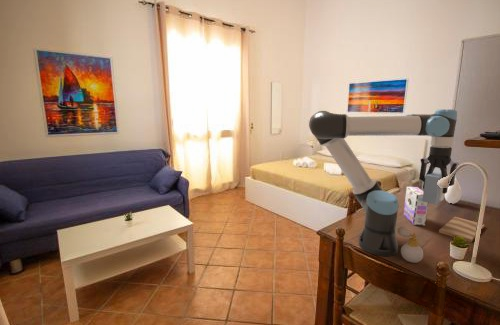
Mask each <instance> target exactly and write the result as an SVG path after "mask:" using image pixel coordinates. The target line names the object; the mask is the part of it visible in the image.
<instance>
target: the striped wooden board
mask: <svg viewBox="0 0 500 325" xmlns="http://www.w3.org/2000/svg"><path fill="white" fill-rule="evenodd" d="M477 223H478V222H476V221H473V220H469V219H466V218H461V217H458V216H454V217H452V218H451V219H450V220H449V221H448V222H447V223H446V224H444V225H443V226H442V227H441V228H440V229H438V233H439V234H442V235H446V236H449V237H452V238H455V236H461V237H464V238H465V239H466V241H465V242H469V243H472V242H473V241H474V239H475V238H476V237H475V234H476V228H477ZM482 224H483V225H482V230H483V229H484V228H485V224H484V223H482Z"/></svg>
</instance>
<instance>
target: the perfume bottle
mask: <svg viewBox="0 0 500 325" xmlns="http://www.w3.org/2000/svg"><path fill="white" fill-rule="evenodd" d="M397 234H399V235H400V236H401V237H404V238H408V242H406V243H404V244H402V246H401V248H400V254H401V256H402V258H403V259H404V260H405V261H407V262H409V263H414V264H416V263H419V262H421V261H422V260H423V259H424V251H423V249H422V247H421V246H420V245H419V244H418V243H419V240H418V239H417V236H416V233H415V232H414V233H413V234H412V232H411V231H410V230H409V229H408V228H407V227H404V226H400V227H398V228H397Z"/></svg>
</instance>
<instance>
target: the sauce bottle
mask: <svg viewBox="0 0 500 325" xmlns="http://www.w3.org/2000/svg"><path fill="white" fill-rule="evenodd" d="M461 197H462V187H461V184H460V182H459V181H458V179H457V175H456V174H455V181H454V185H452V186H449V187H448V190H447V193H445V195H444V200H445V201H446V202H447V203H448V204H450V203H452V204H451V205H453V204H456V203H458V202H459V201H460V199H461Z"/></svg>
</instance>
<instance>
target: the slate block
mask: <svg viewBox="0 0 500 325" xmlns="http://www.w3.org/2000/svg"><path fill="white" fill-rule="evenodd" d="M425 176H426V178H425V185H424V189H423V191H424V192H423V200H422V201H423V202H427V203H428V204H432V205H437V204H439V203H441V202H443V201H444V200H445V197H444V198H443V200H441V201H440V200H439V195H440V187H439V186H438V185H437V182H438V180H440V179H441V178H442V175H441V172H436V171H433V173H432V174H428V175H426V174H425ZM447 176H449V174H448V173H447ZM444 195H445V194H444Z"/></svg>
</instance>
